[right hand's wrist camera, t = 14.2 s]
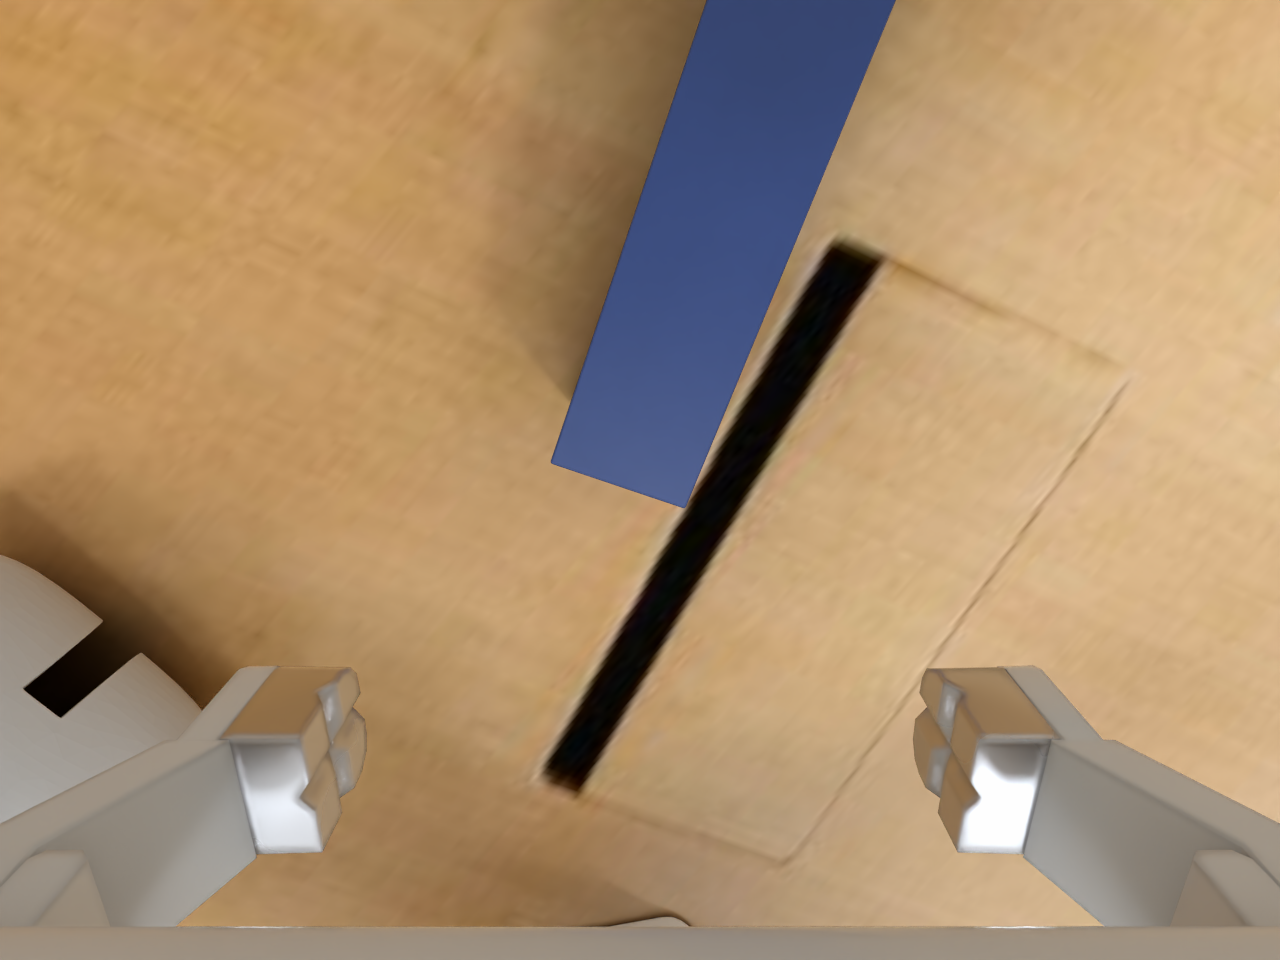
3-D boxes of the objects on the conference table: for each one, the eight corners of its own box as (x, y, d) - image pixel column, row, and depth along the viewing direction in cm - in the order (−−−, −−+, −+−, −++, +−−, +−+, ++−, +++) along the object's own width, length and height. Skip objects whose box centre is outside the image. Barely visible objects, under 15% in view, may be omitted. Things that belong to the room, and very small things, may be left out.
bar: (674, 440, 34) (685, 509, 26) (570, 404, 34) (549, 464, 26) (952, -263, 25) (1091, -471, 18) (818, -328, 25) (900, -574, 17)
